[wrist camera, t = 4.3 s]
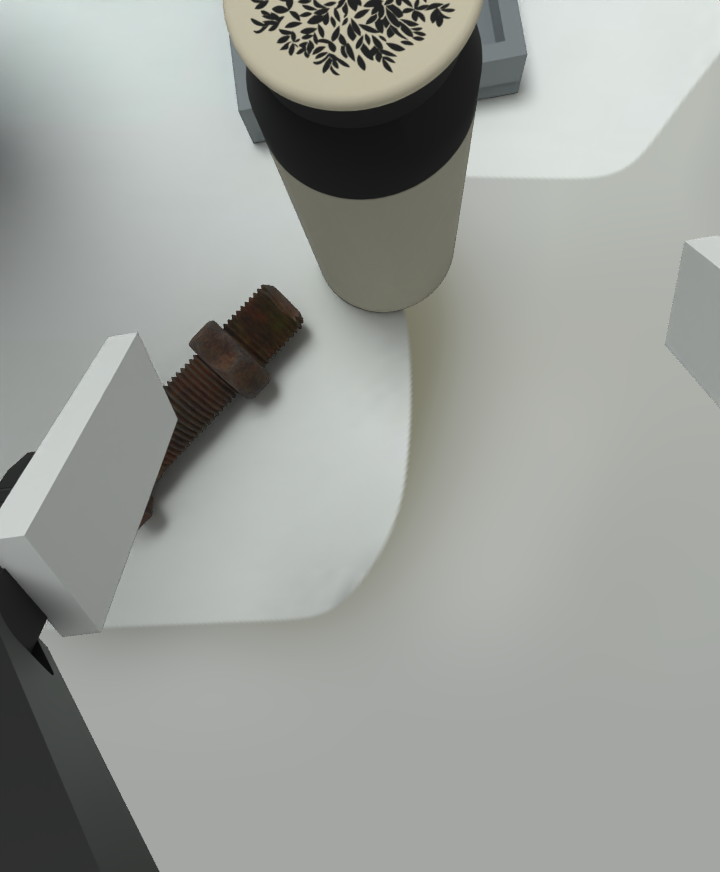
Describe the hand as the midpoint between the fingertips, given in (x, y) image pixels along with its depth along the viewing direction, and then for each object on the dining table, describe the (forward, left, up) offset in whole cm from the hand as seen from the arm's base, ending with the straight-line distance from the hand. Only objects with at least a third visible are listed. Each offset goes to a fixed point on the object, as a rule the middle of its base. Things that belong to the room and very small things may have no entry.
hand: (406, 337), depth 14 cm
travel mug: (0, +11, -19) cm, 21 cm away
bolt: (-12, +3, -19) cm, 22 cm away
